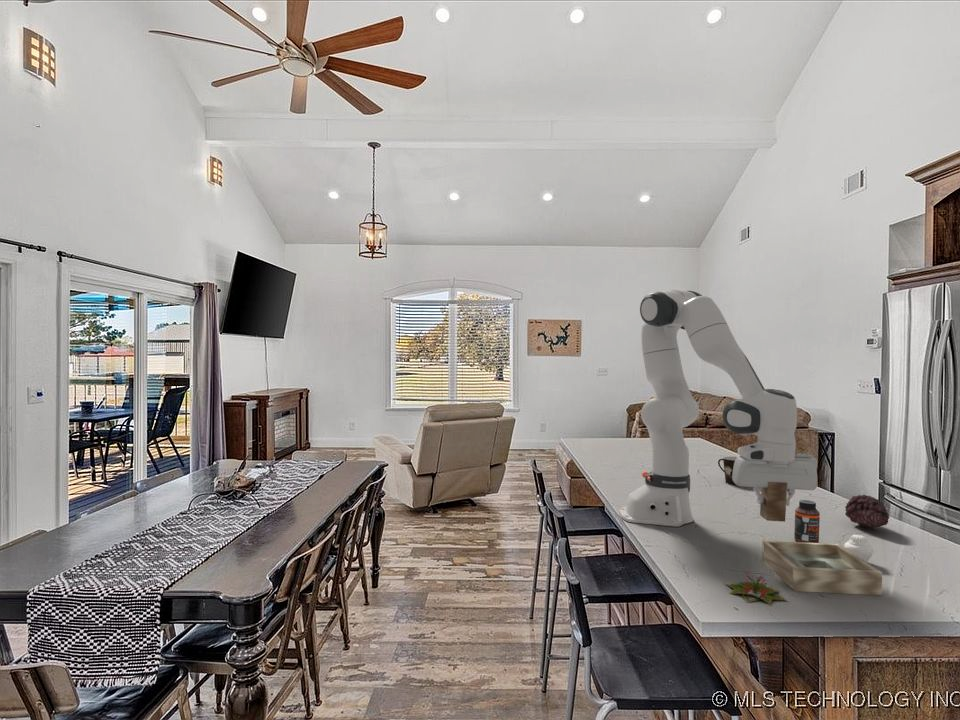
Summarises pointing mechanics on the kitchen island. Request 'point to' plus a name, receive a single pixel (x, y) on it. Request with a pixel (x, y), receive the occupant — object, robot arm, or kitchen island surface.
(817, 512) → the supplement bottle
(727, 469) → the coffee mug
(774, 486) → the peg
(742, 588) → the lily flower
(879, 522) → the pine cone
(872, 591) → the peg box
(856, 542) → the white ribbed rounded lump
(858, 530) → the kitchen island surface
